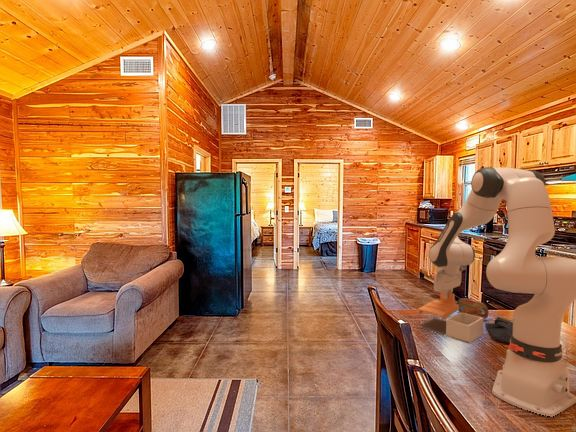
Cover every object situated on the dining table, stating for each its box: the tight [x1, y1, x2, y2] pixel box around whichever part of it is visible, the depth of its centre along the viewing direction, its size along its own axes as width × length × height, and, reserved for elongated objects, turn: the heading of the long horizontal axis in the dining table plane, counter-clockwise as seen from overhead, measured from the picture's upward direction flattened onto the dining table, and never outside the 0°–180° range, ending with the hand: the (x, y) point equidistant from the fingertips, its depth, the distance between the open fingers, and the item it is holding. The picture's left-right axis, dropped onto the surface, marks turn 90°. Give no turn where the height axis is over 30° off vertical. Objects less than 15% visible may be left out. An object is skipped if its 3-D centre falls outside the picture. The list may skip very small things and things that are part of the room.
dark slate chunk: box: [484, 316, 513, 344], centre depth 131 cm, size 15×22×5 cm
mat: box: [419, 317, 446, 336], centre depth 141 cm, size 16×12×1 cm
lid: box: [418, 292, 459, 321], centre depth 141 cm, size 17×11×6 cm, turn 129°
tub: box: [445, 312, 485, 344], centre depth 131 cm, size 14×9×7 cm, turn 129°
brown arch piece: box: [456, 297, 489, 320], centre depth 153 cm, size 15×3×8 cm, turn 25°
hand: (447, 298), depth 146 cm, fingers closed on lid
